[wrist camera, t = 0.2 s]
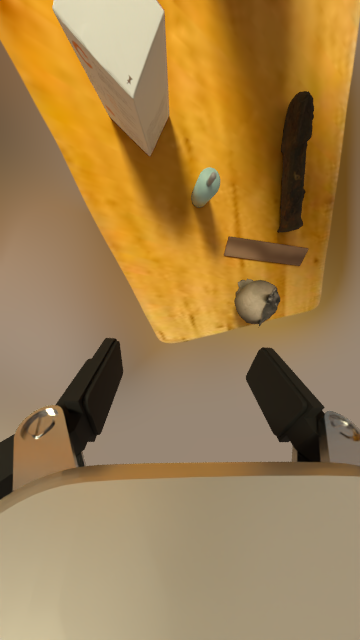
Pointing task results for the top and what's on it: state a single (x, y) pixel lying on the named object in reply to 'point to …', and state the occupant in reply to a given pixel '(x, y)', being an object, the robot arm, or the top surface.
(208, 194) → the green ice pop
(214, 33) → the top surface
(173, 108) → the top surface
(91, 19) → the small box
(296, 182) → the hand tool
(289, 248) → the joist strip
